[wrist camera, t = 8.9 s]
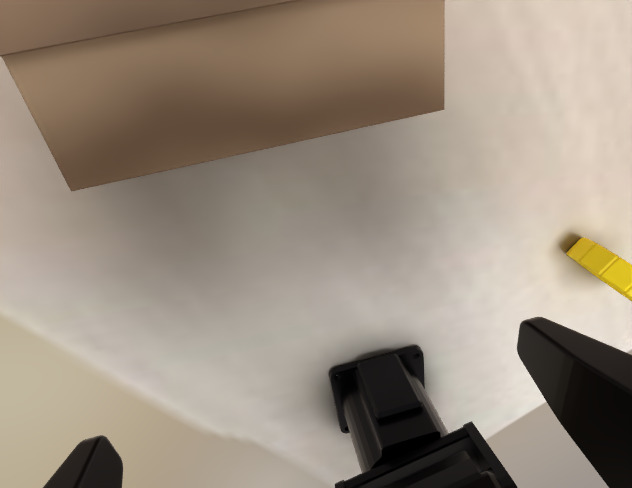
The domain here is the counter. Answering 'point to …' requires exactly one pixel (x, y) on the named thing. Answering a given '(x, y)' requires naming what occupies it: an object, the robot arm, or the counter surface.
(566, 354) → the robot arm
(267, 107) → the step riser
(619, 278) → the watch
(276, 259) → the counter surface
